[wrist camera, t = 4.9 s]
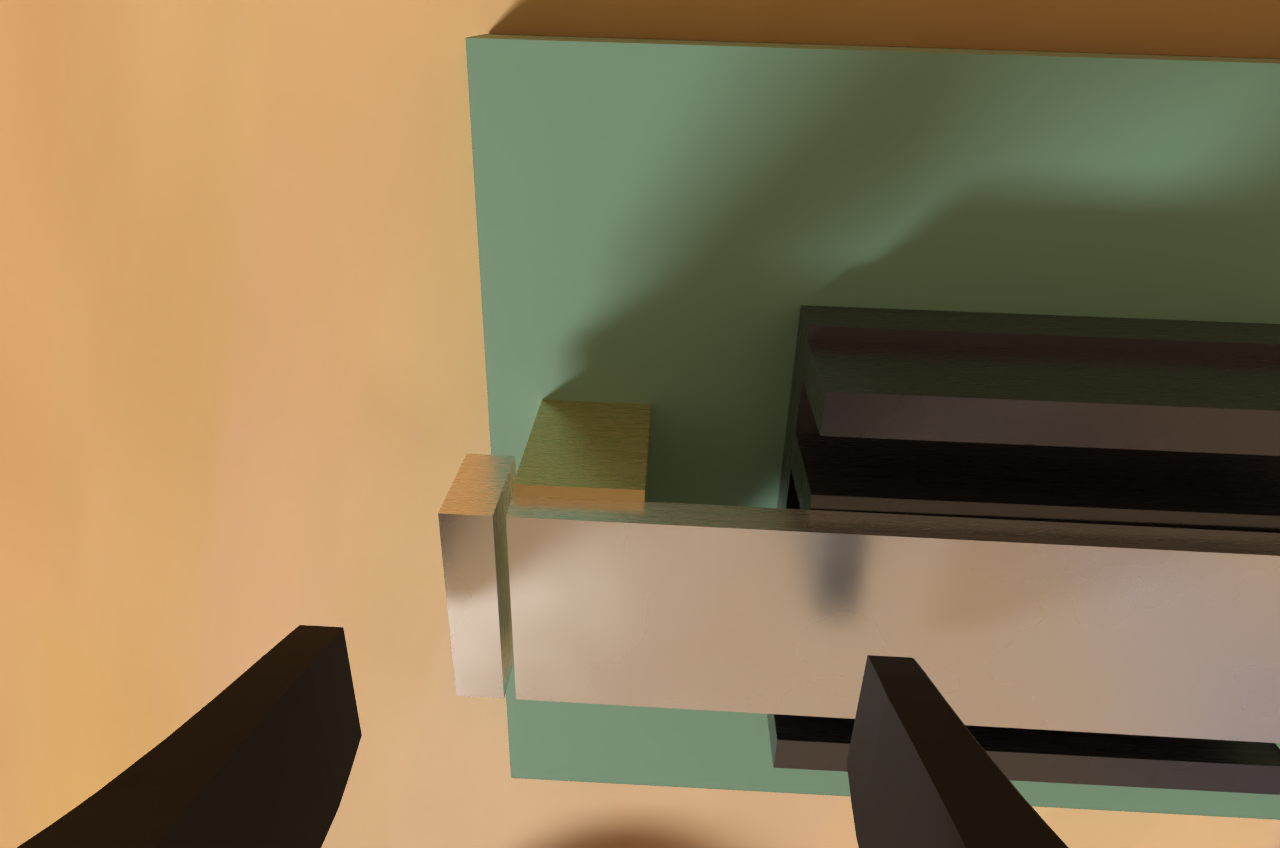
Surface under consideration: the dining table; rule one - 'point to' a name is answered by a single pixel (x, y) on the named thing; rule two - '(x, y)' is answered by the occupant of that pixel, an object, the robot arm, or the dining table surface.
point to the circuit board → (829, 270)
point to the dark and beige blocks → (998, 471)
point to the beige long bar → (860, 611)
